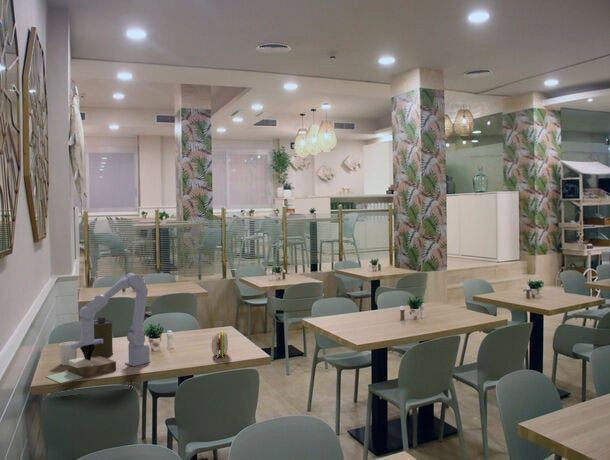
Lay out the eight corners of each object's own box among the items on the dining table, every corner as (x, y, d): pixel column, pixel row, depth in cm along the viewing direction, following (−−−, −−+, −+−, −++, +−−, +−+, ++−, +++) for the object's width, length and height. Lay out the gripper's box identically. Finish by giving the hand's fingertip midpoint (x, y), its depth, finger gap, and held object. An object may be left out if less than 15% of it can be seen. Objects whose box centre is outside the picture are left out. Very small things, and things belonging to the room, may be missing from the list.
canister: (114, 356, 265) (113, 317, 265) (92, 359, 260) (92, 319, 260) (111, 351, 275) (110, 314, 274) (90, 354, 270) (89, 316, 269)
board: (98, 363, 252) (98, 355, 252) (116, 369, 242) (115, 361, 242) (68, 371, 241) (67, 362, 241) (85, 377, 231) (84, 369, 230)
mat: (68, 371, 240) (68, 371, 240) (82, 377, 231) (82, 377, 231) (46, 377, 232) (46, 376, 232) (60, 383, 223) (60, 382, 223)
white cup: (60, 366, 248) (59, 346, 247) (59, 362, 255) (58, 342, 254) (78, 364, 252) (77, 344, 251) (76, 360, 258) (76, 340, 258)
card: (81, 361, 242) (81, 357, 242) (90, 365, 236) (90, 360, 236) (68, 364, 237) (68, 360, 237) (77, 368, 232) (77, 363, 232)
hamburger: (212, 352, 271) (211, 330, 271) (228, 352, 272) (227, 329, 272) (211, 359, 259) (210, 335, 259) (227, 358, 261) (227, 334, 260)
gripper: (97, 328, 247) (98, 356, 248) (67, 333, 236) (68, 363, 237) (105, 330, 243) (105, 359, 243) (75, 336, 232) (75, 366, 232)
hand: (87, 361), depth 240 cm, fingers closed
